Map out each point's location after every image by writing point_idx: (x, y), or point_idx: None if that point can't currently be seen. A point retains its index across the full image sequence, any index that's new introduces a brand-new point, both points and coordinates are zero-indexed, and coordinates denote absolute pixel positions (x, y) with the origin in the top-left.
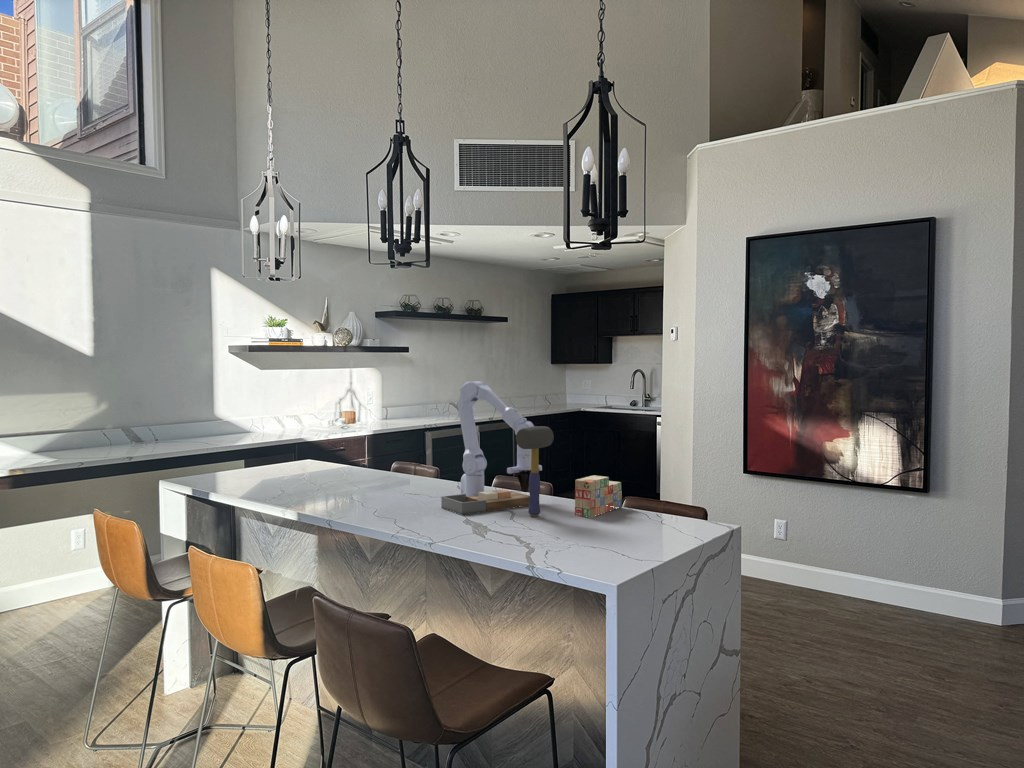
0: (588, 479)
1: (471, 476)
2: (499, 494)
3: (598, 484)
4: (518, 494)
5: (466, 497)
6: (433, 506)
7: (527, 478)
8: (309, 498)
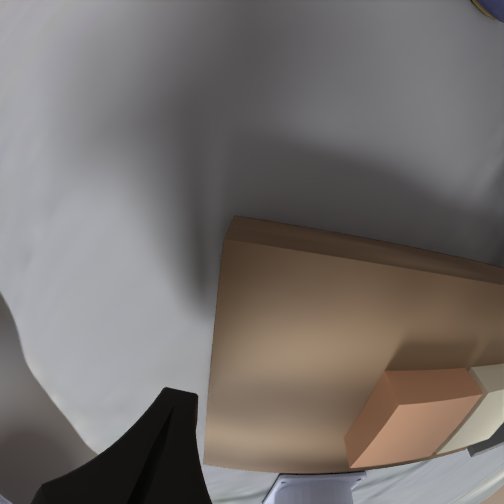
0: None
1: None
2: (474, 385)
3: None
4: (251, 401)
5: None
6: None
7: (150, 496)
8: (470, 500)
